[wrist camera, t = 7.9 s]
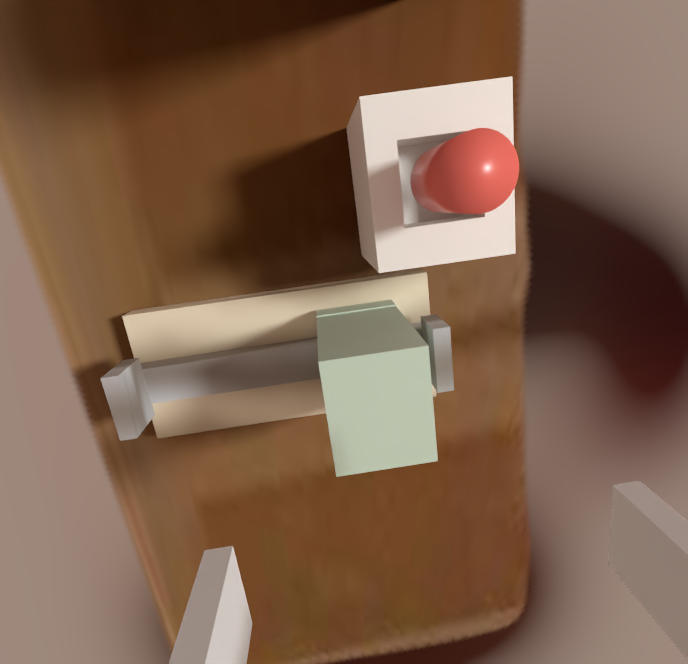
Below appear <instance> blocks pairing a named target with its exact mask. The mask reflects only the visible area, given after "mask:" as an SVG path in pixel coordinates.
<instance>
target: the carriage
mask: <svg viewBox="0 0 688 664" xmlns="http://www.w3.org/2000/svg"><path fill="white" fill-rule="evenodd" d="M316 316H317V342H318V364H319V371H320V377H321V383H322V389H323V396H324V402H325V408H326V414H327V421H328V427H329V433H330V439H331V446H332V452H333V458H334V464H335V471H336V477H338V476H345V475H351V474H358V473H364V472H370V471H377V470H383V469H390V468H396V467H402V466H409V465H415V464H422V463H428V462H434V461H438V458H437V445H436V433H435V420H434V408H433V395H432V383H431V370H430V358H429V345H428V344H427V343H426V342H425V341H424V339H423V338H422V337H421V336H420V335H419V333H418V332H417V331H416V330H415V329H414V327H413V326H412V325H411V324H410V323H409V321H408V320H407V319H406V318H405V317H404V315H403V314H402V313H401V312H400V310H399V309H398V308H397V307H396V304H395V303H394V302H393V301H392V300H384V301H377V302H371V303H364V304H357V305H350V306H343V307H336V308H329V309H322V310H316Z"/></svg>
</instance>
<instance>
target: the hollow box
mask: <svg viewBox="0 0 688 664" xmlns="http://www.w3.org/2000/svg"><path fill="white" fill-rule="evenodd" d="M476 128H489V129H494V130H496V131H498V132H500V133H502V134H503V135H505V136H506V137H507V138H508V139H509V140H510V141H511V143H512V144H513V146H514V140H513V81H512V77H505V78H497V79H489V80H482V81H474V82H466V83H459V84H451V85H444V86H436V87H428V88H421V89H413V90H406V91H398V92H390V93H383V94H375V95H367V96H360V97H359V99H358V101H357V104H356V106H355V109H354V111H353V113H352V116H351V118H350V120H349V123H348V125H347V127H346V129H347V137H348V145H349V154H350V162H351V170H352V179H353V187H354V196H355V204H356V212H357V221H358V229H359V237H360V246H361V254H362V256H363V257H364V258H365V259H366V260H367V261H368V263H369V264H370V265H371V266H372V267H373V268H374V269H375V270H376V271H377V272H378V273H383V272H390V271H397V270H404V269H411V268H418V267H425V266H432V265H439V264H446V263H453V262H459V261H466V260H473V259H480V258H487V257H494V256H501V255H508V254H515V198H514V190H513V191H512V193H511V195H510V196H509V197H508V199H507V200H506V201H505V202H504V203H503V204H502V205H500V206H499V207H497V208H496V209H494V210H492V211H490V212H487V213H482V214H463V213H442V212H432V211H429V210H427V209H425V208H423V207H422V206H421V205H420V204H419V203H418V202H417V201H416V199H415V198H414V196H413V193H412V190H411V185H410V178H411V172H412V169H413V166H414V164H415V163H416V161H417V160H418V158H419V157H420V156H421V155H422V154H423V153H425V152H426V151H428V150H430V149H432V148H434V147H436V146H438V145H440V144H442V143H444V142H446V141H448V140H450V139H452V138H454V137H456V136H458V135H460V134H462V133H464V132H466V131H469V130H472V129H476Z"/></svg>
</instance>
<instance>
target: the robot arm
mask: <svg viewBox="0 0 688 664" xmlns="http://www.w3.org/2000/svg"><path fill="white" fill-rule="evenodd" d="M609 565H610V566H611V568H612V569H613V570H614V571H615V573H616V574H617V575H618V576H619V577H620V579H621V580H622V581H623V582H624V584H625V585H626V586H627V587H628V588H629V590H630V591H631V592H632V593H633V594H634V595H635V597H636V598H637V599H638V600H639V602H640V603H641V604H642V605H643V607H644V608H645V609H646V610H647V611H648V612H649V614H650V615H651V616H652V617H653V619H654V620H655V621H656V622H657V624H658V625H659V626H660V627H661V628H662V630H663V631H664V632H665V633H666V634H667V636H668V637H669V638H670V639H671V640H672V642H673V643H674V644H675V645H676V647H677V648H678V649H679V650H680V651H681V653H682V654H683V655H684V656H685V657H686V659H687V660H688V521H687V520H686V519H684V518H683V517H682V516H681V515H680V514H679V513H677V512H676V511H675V510H674V509H672V508H671V507H670V506H669V505H668V504H666V503H665V502H664V501H663V500H662V499H661V498H659V497H658V496H657V495H656V494H655V493H654V492H652V491H651V490H650V489H649V488H648V487H646V486H645V485H644V484H643V483H642V482H640V481H636V482H629V483H623V484H617V485H613V493H612V511H611V528H610V546H609ZM251 629H252V619H251V616H250V612H249V608H248V604H247V600H246V596H245V592H244V588H243V584H242V580H241V576H240V572H239V568H238V564H237V560H236V557H235V553H234V549H233V546H229V547H223V548H217V549H210V550H205V551H204V554H203V557H202V560H201V563H200V566H199V570H198V573H197V576H196V579H195V582H194V585H193V589H192V592H191V595H190V598H189V601H188V604H187V608H186V611H185V614H184V617H183V620H182V623H181V627H180V630H179V633H178V636H177V639H176V642H175V646H174V649H173V652H172V655H171V658H170V661H169V664H246V663H247V656H248V650H249V643H250V636H251Z"/></svg>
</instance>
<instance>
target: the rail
mask: <svg viewBox="0 0 688 664" xmlns="http://www.w3.org/2000/svg"><path fill="white" fill-rule="evenodd" d="M384 300H392V301H393V302H394V303H395V304H396V307H397V308H398V309H399V310H400V312H401V313H402V314H403V315H404V317H405V318H406V319H407V320H408V321H409V323H410V324H411V325H412V326H413V327H414V329H415V330H416V331H417V332H418V333H419V335H420V336H421V337H422V338H423V339H424V341H425V342H426V343H427V344H428V345H429V358H430V370H431V383H432V395H433V397H435V396H436V391H437V392H438V393H439V392H445V391H452V390H454V382H453V367H452V351H451V335H450V326H448V325H447V324H446V323H445V322H444V321H443V320H442V319H441V318H439V317H438V316H437V315H436V314H434V315H430V307H429V294H428V281H427V272H425V271H424V270H422V269H419V270H412V271H405V272H398V273H391V274H384V275H377V276H370V277H363V278H356V279H349V280H342V281H335V282H328V283H321V284H314V285H307V286H300V287H293V288H286V289H279V290H272V291H265V292H258V293H252V294H245V295H238V296H231V297H224V298H217V299H210V300H203V301H196V302H189V303H182V304H175V305H168V306H161V307H154V308H147V309H140V310H133V311H130V312H128V313H127V314H125V315H123V316H122V318H123V321H124V325H125V328H126V332H127V335H128V339H129V342H130V346H131V349H132V352H133V356H134V359H127V360H122V361H121V362H120V363H119V364H118V365H116V366H115V367H114V368H113V369H111V370H110V371H109V372H108V373H106V374H105V375H104V376H103V377H101V378H100V379H101V382H102V385H103V388H104V392H105V395H106V398H107V401H108V404H109V407H110V410H111V414H112V417H113V420H114V423H115V426H116V429H117V432H118V435H119V439H120V441H123V440H129V439H136V438H138V437H139V435H140V434H141V433H142V431H143V430H144V429H145V427H146V426H147V425H148V423H149V422H150V421H151V420H152V421H153V425H154V428H155V432H156V435H157V438H165V437H172V436H178V435H185V434H191V433H198V432H204V431H211V430H218V429H224V428H231V427H237V426H244V425H251V424H257V423H264V422H270V421H277V420H283V419H290V418H297V417H303V416H310V415H316V414H323V413H326V408H325V402H324V396H323V389H322V383H321V377H320V371H319V364H318V342H317V316H316V310H322V309H329V308H336V307H343V306H350V305H357V304H364V303H371V302H377V301H384Z"/></svg>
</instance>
